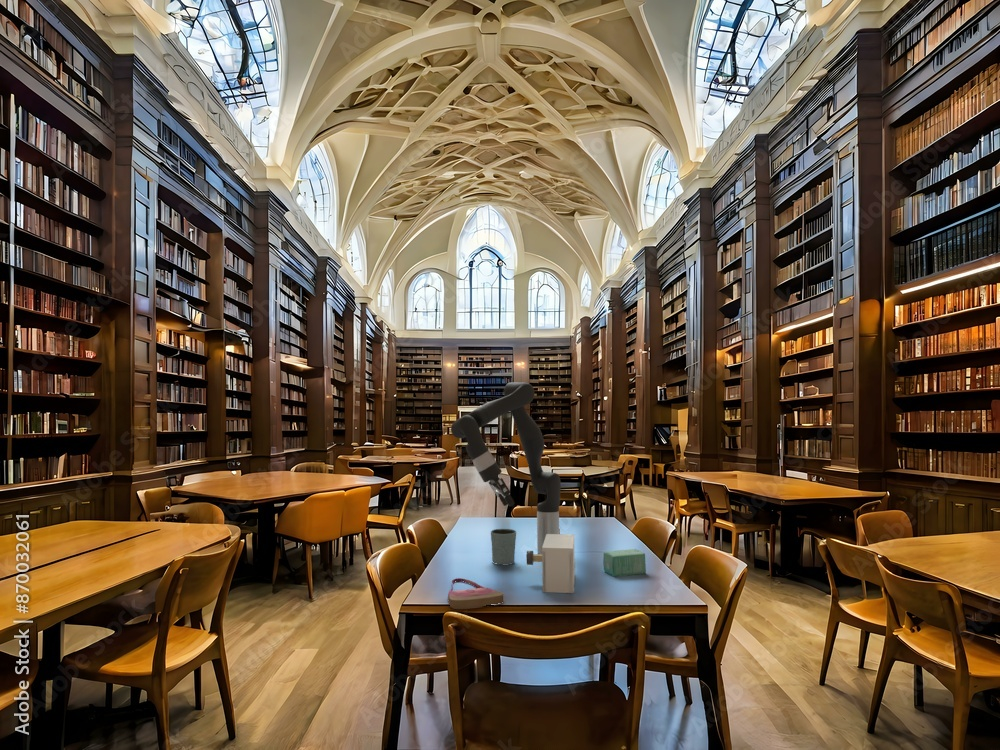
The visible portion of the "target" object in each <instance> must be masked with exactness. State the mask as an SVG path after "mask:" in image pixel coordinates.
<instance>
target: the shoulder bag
mask: <svg viewBox="0 0 1000 750" xmlns="http://www.w3.org/2000/svg"><path fill="white" fill-rule="evenodd" d="M455 581H464V582H463V583H465V582H467V583H466V584H468V583H470V584H469V585H471V584H472V585H471V586H473V585H474V586H473V587H475V586H476V587H475V588H469V589H459V590H453V587H451V589H450V590H449V592H448V594H447V600H449V601H448V606H449V605H450V606H449V608H452V609H454V610H469V609H477V608H483V607H482V606H486V605H491V604H498V603H502V602H503V603H504V593H503V592H502V591H499V590H497V589H493V588H491V587H490V588H489V587H485V586H482V585H480V584H478V583H477V582H475V581H473V580H469V579H466V578H457V577H456V578H454V579H452V581H451V584H452V583H453V582H454V583H456V582H455ZM454 583H453V584H454ZM452 590H453V591H452ZM503 603H502V604H503Z"/></svg>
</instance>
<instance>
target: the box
mask: <svg viewBox="0 0 1000 750" xmlns="http://www.w3.org/2000/svg"><path fill="white" fill-rule="evenodd" d="M602 557H603V559H602V561H603V562H602V564H603V565H602V566H603V571H604V573H606V574H608V575H610V576H612V577H613V578H614V577H615V578H616V577H625V576H633V575H634V576H635V575H642V574H646V573H647V570H646V569H647V568H646V567H647V566H646V553H645V552H643V551H641V550H638V549H637V548H631V549H620V550H610V551H604V552H603V556H602Z"/></svg>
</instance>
